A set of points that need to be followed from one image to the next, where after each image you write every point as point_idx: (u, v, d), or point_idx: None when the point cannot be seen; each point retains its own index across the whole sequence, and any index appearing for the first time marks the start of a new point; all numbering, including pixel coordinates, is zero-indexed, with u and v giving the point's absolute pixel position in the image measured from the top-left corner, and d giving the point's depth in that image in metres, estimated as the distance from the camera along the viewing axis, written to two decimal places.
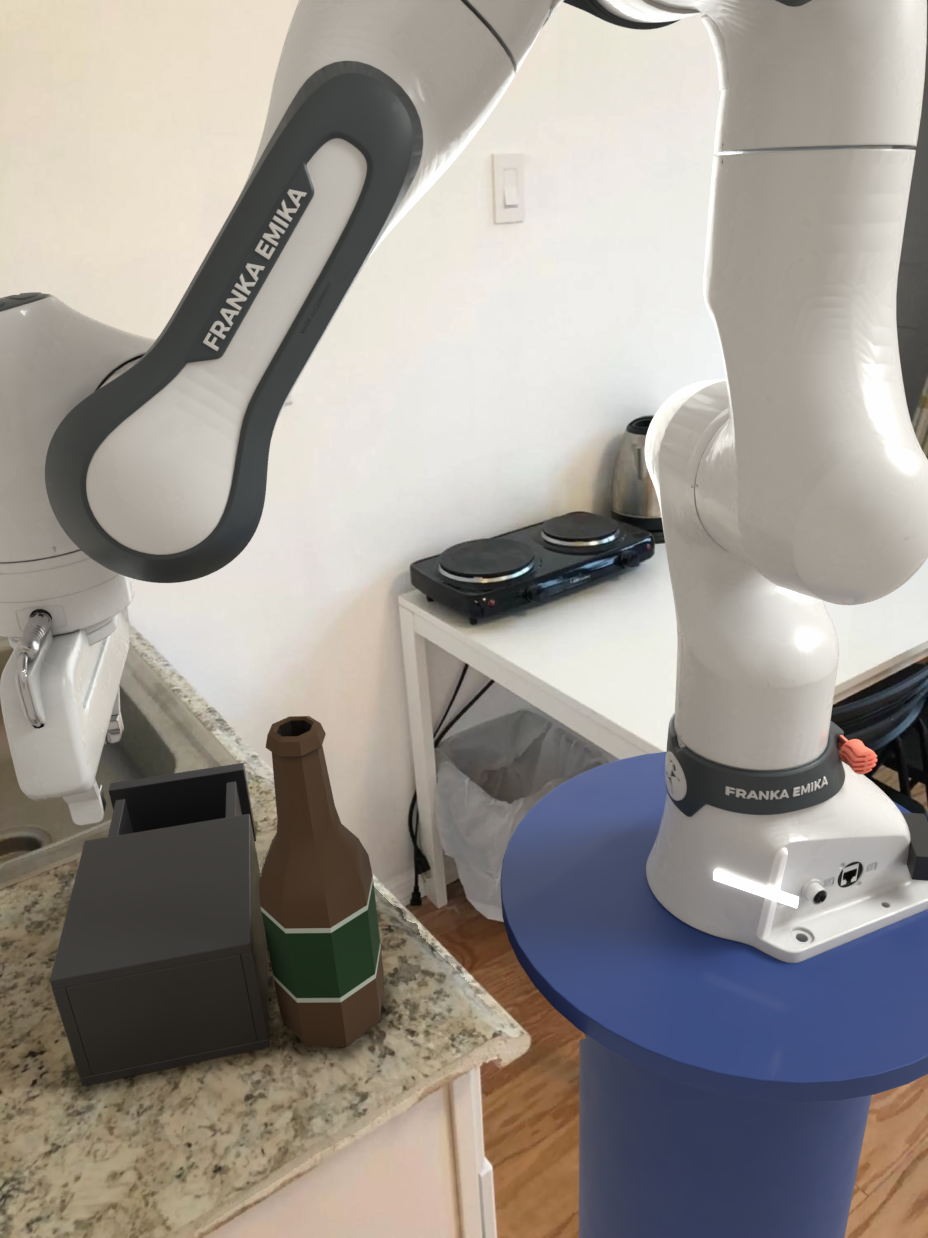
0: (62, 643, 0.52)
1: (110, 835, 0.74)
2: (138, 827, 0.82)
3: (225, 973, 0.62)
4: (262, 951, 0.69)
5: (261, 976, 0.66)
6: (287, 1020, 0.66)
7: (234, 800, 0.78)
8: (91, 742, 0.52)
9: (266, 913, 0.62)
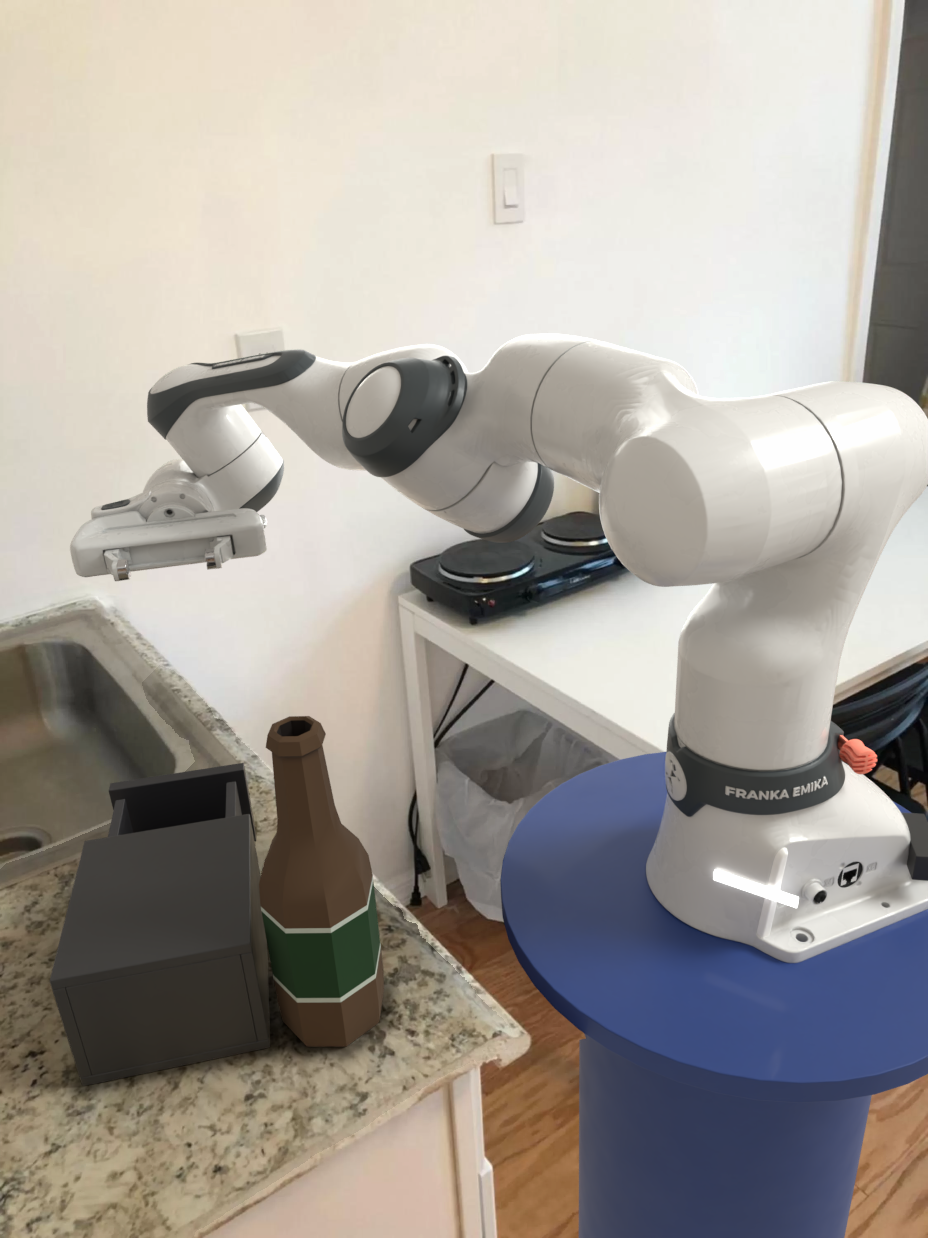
0: None
1: (110, 835, 0.74)
2: (138, 827, 0.82)
3: (225, 973, 0.62)
4: (262, 951, 0.69)
5: (261, 976, 0.66)
6: (287, 1020, 0.66)
7: (234, 800, 0.78)
8: None
9: (266, 913, 0.62)
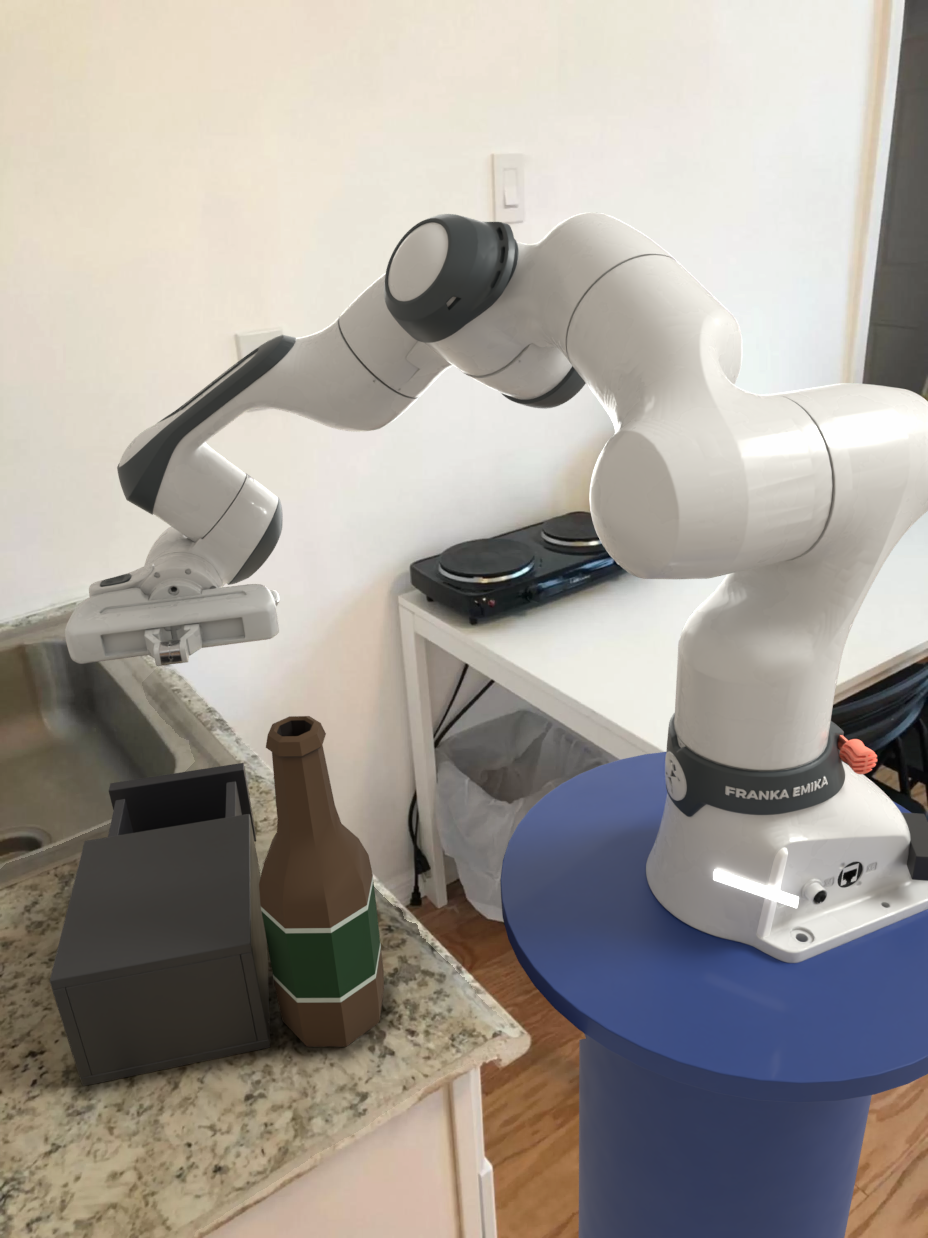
0: None
1: (110, 835, 0.74)
2: (138, 827, 0.82)
3: (225, 973, 0.62)
4: (262, 951, 0.69)
5: (261, 976, 0.66)
6: (287, 1020, 0.66)
7: (234, 800, 0.78)
8: None
9: (266, 913, 0.62)
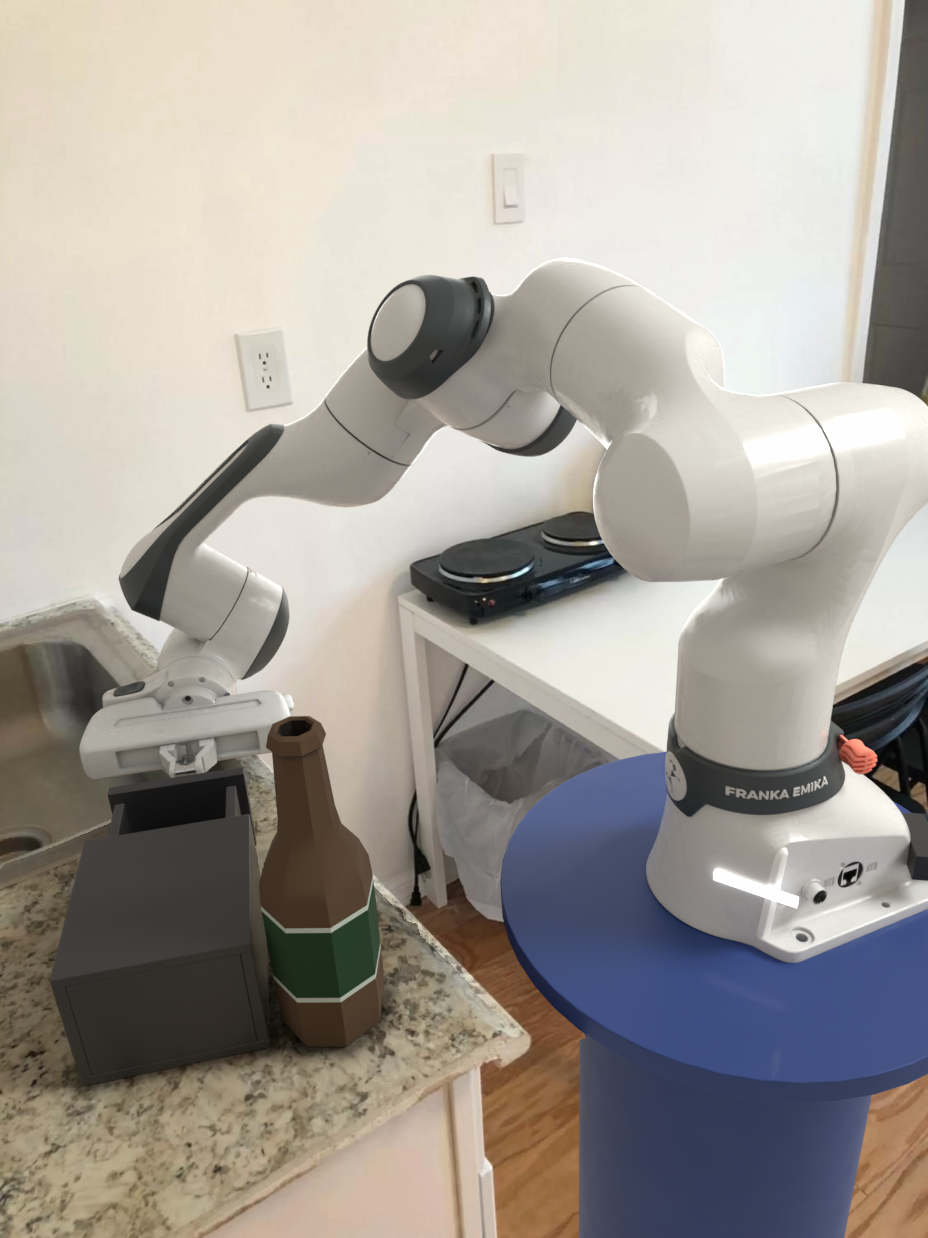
0: None
1: None
2: None
3: (225, 973, 0.62)
4: (262, 951, 0.69)
5: (261, 976, 0.66)
6: (287, 1020, 0.66)
7: (234, 805, 0.77)
8: None
9: (266, 913, 0.62)
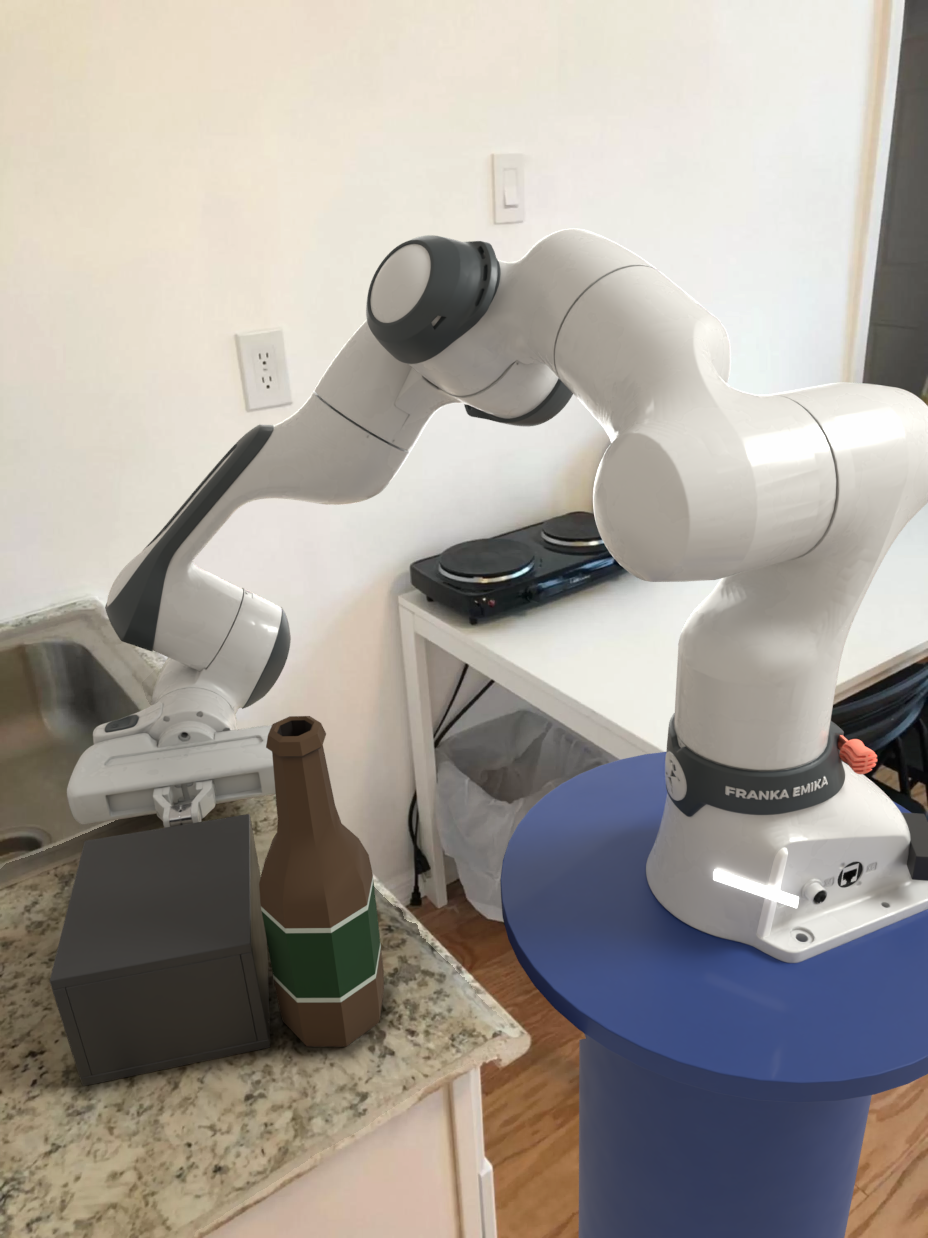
0: None
1: None
2: None
3: (225, 973, 0.62)
4: (262, 951, 0.69)
5: (261, 976, 0.66)
6: (287, 1020, 0.66)
7: None
8: None
9: (266, 913, 0.62)
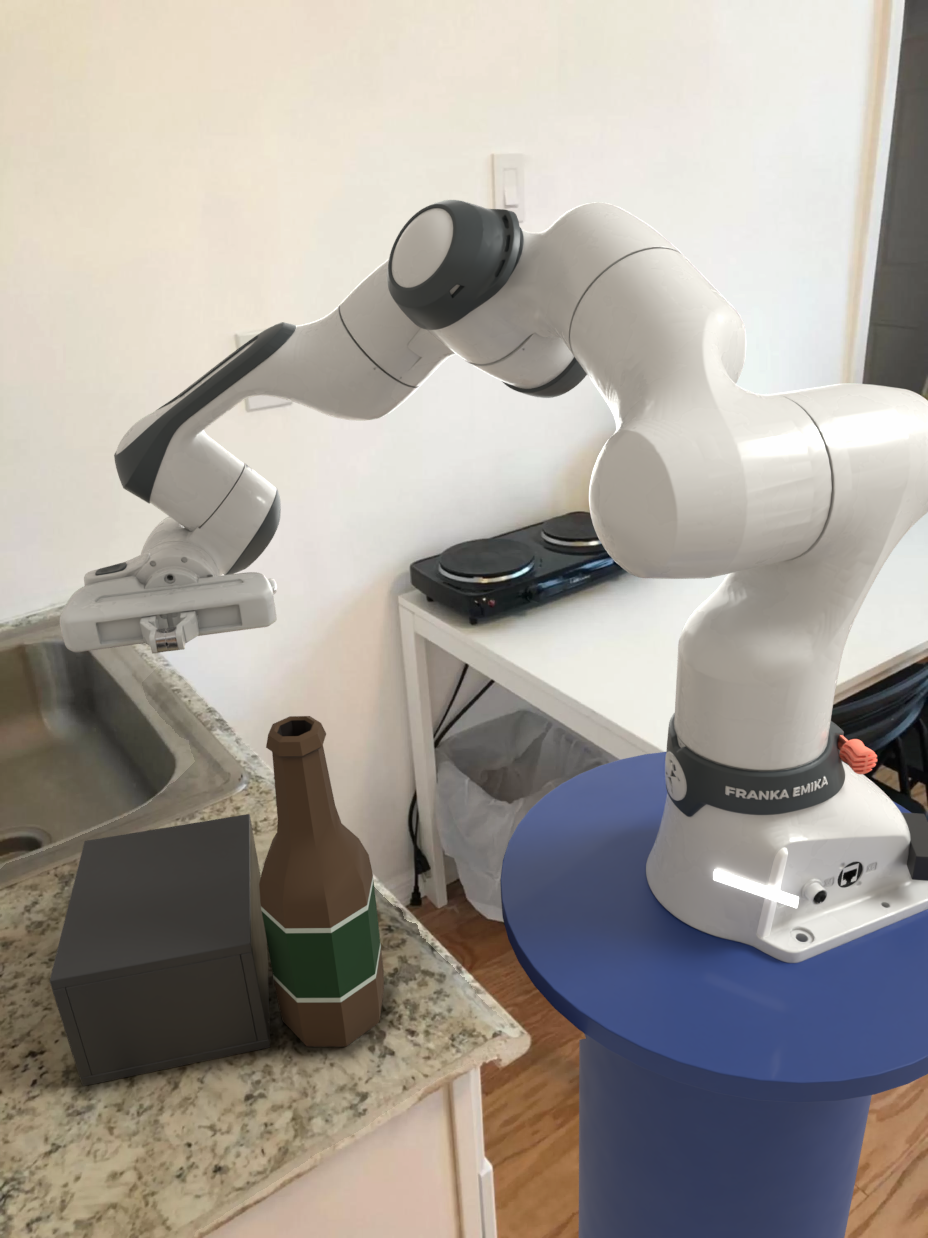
0: None
1: None
2: None
3: (225, 973, 0.62)
4: (262, 951, 0.69)
5: (261, 976, 0.66)
6: (287, 1020, 0.66)
7: None
8: None
9: (266, 913, 0.62)
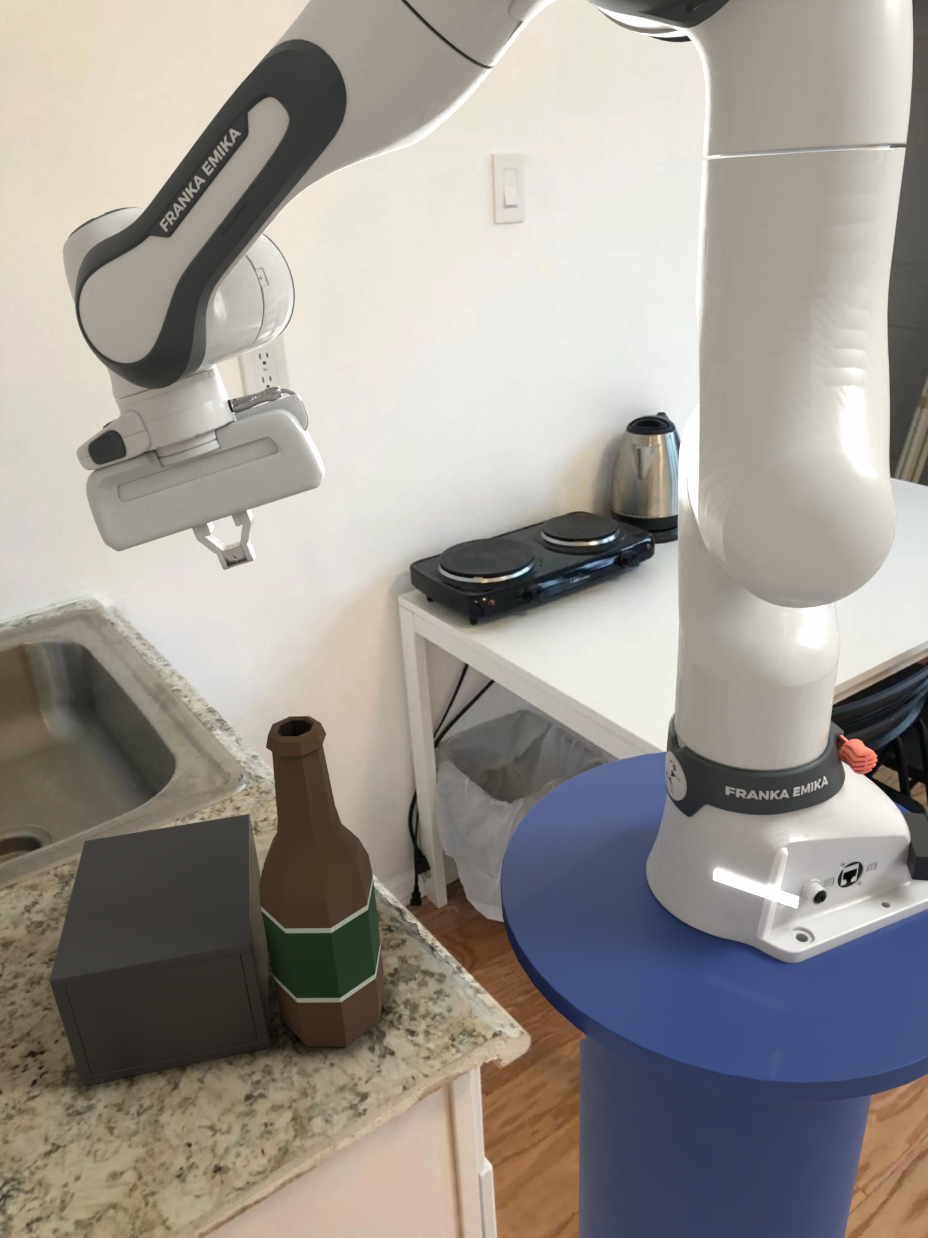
0: None
1: None
2: None
3: (225, 973, 0.62)
4: (262, 951, 0.69)
5: (261, 976, 0.66)
6: (287, 1020, 0.66)
7: None
8: None
9: (266, 913, 0.62)
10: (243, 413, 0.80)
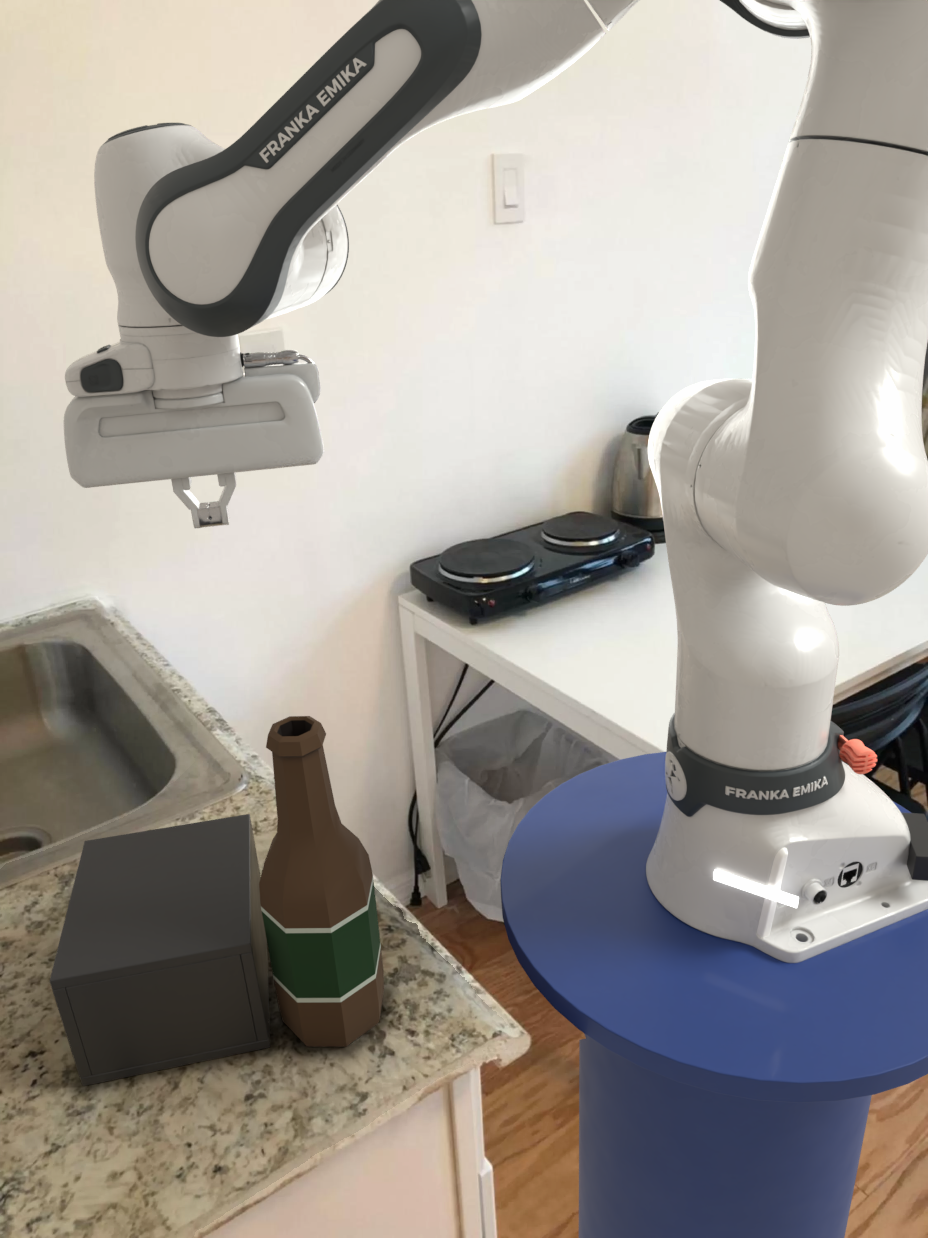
0: None
1: None
2: None
3: (225, 973, 0.62)
4: (262, 951, 0.69)
5: (261, 976, 0.66)
6: (287, 1020, 0.66)
7: None
8: None
9: (266, 913, 0.62)
10: (253, 371, 0.75)
